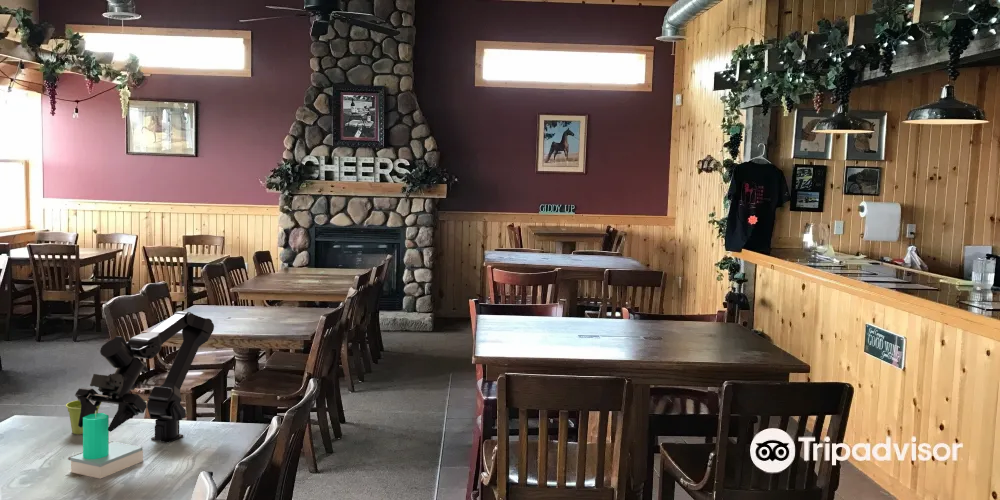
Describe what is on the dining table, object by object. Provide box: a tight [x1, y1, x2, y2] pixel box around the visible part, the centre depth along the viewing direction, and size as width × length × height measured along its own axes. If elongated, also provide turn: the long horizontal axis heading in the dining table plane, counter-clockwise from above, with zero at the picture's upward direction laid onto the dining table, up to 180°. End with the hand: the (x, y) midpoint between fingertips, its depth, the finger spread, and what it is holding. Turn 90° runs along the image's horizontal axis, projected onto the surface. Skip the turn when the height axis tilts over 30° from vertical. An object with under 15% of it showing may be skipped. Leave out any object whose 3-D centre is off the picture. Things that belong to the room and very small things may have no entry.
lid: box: [67, 441, 143, 467], centre depth 205 cm, size 14×11×1 cm
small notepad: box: [70, 449, 144, 479], centre depth 205 cm, size 14×10×3 cm
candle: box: [82, 411, 110, 459], centre depth 202 cm, size 6×6×12 cm
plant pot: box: [65, 399, 102, 435], centre depth 231 cm, size 9×9×9 cm
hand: (94, 428), depth 200 cm, fingers open, 9 cm apart
